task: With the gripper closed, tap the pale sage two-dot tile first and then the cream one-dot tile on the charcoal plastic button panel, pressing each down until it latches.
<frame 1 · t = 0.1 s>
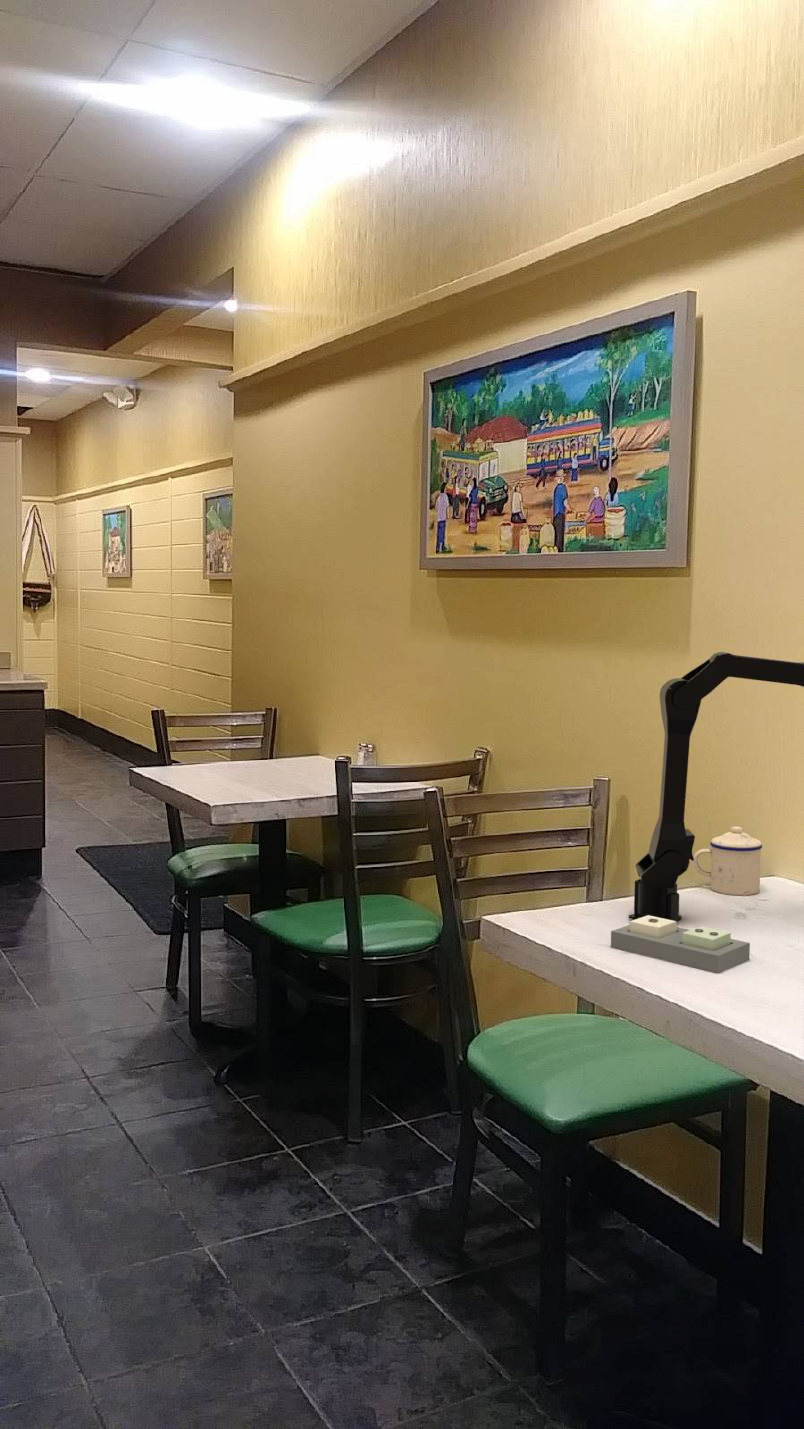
sage tile two: (706, 938, 169), point 3 cm above the table, slide at 0.0 cm
panel: (678, 953, 173), on the table
cream tile one: (653, 927, 175), point 3 cm above the table, slide at 0.0 cm
teacup with lid: (726, 890, 212), on the table
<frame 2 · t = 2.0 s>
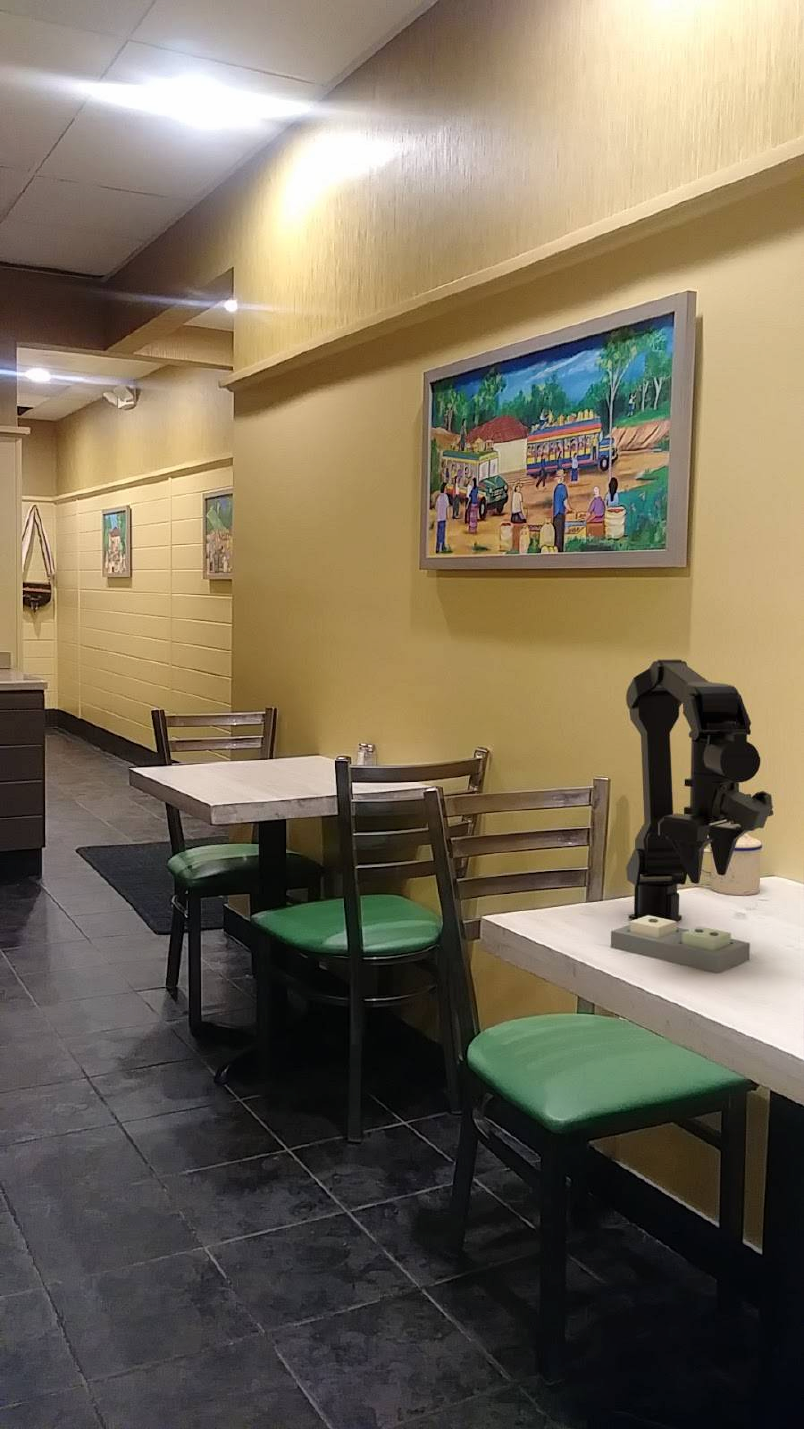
hand: (708, 879, 168), 12 cm above the table, tool pointing down, fingers open, 7 cm apart
nothing on the table moved.
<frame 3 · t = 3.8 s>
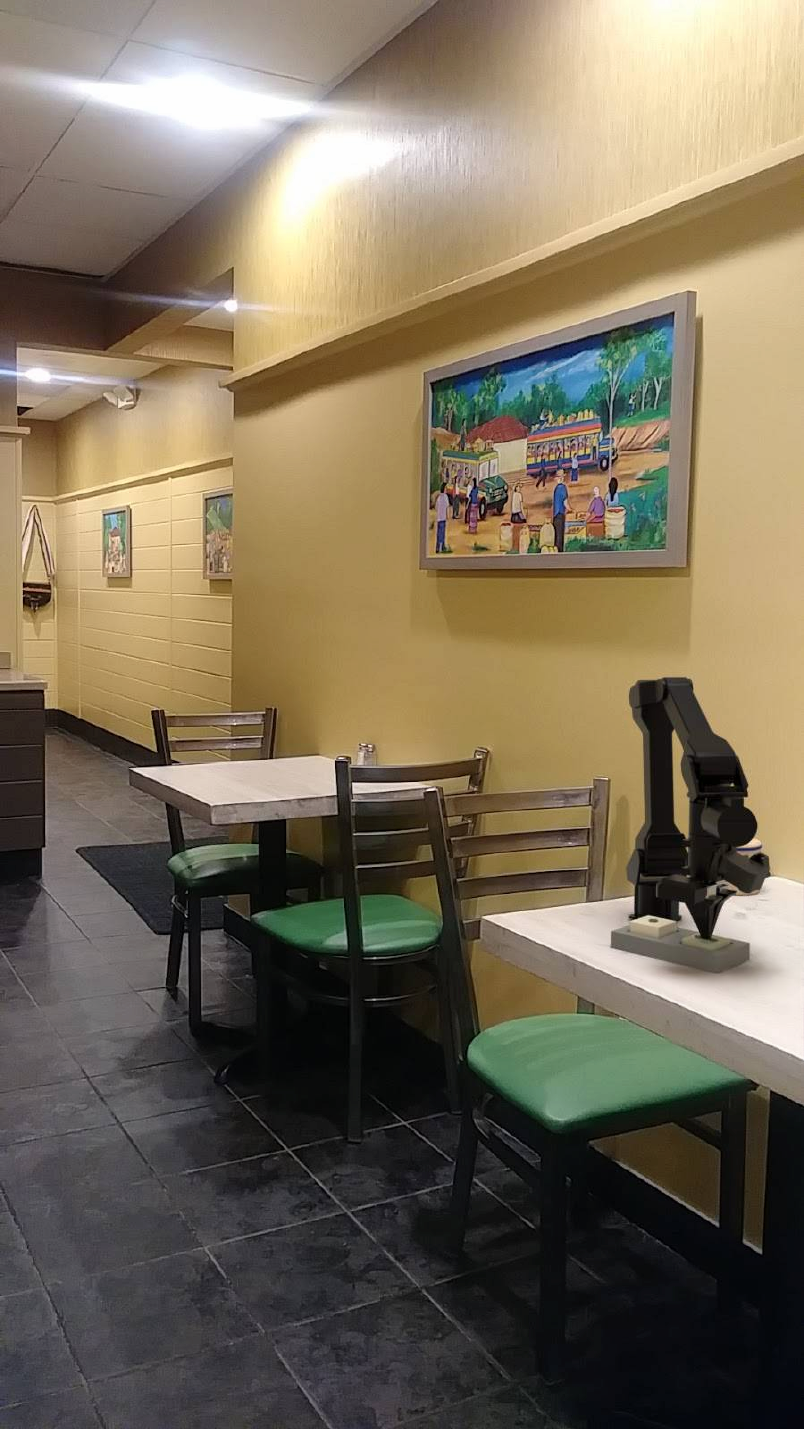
hand: (706, 938, 169), 3 cm above the table, tool pointing down, fingers closed, pressing on sage tile two
sage tile two: (706, 944, 169), point 2 cm above the table, slide at 0.9 cm, touching gripper
everything else where it was.
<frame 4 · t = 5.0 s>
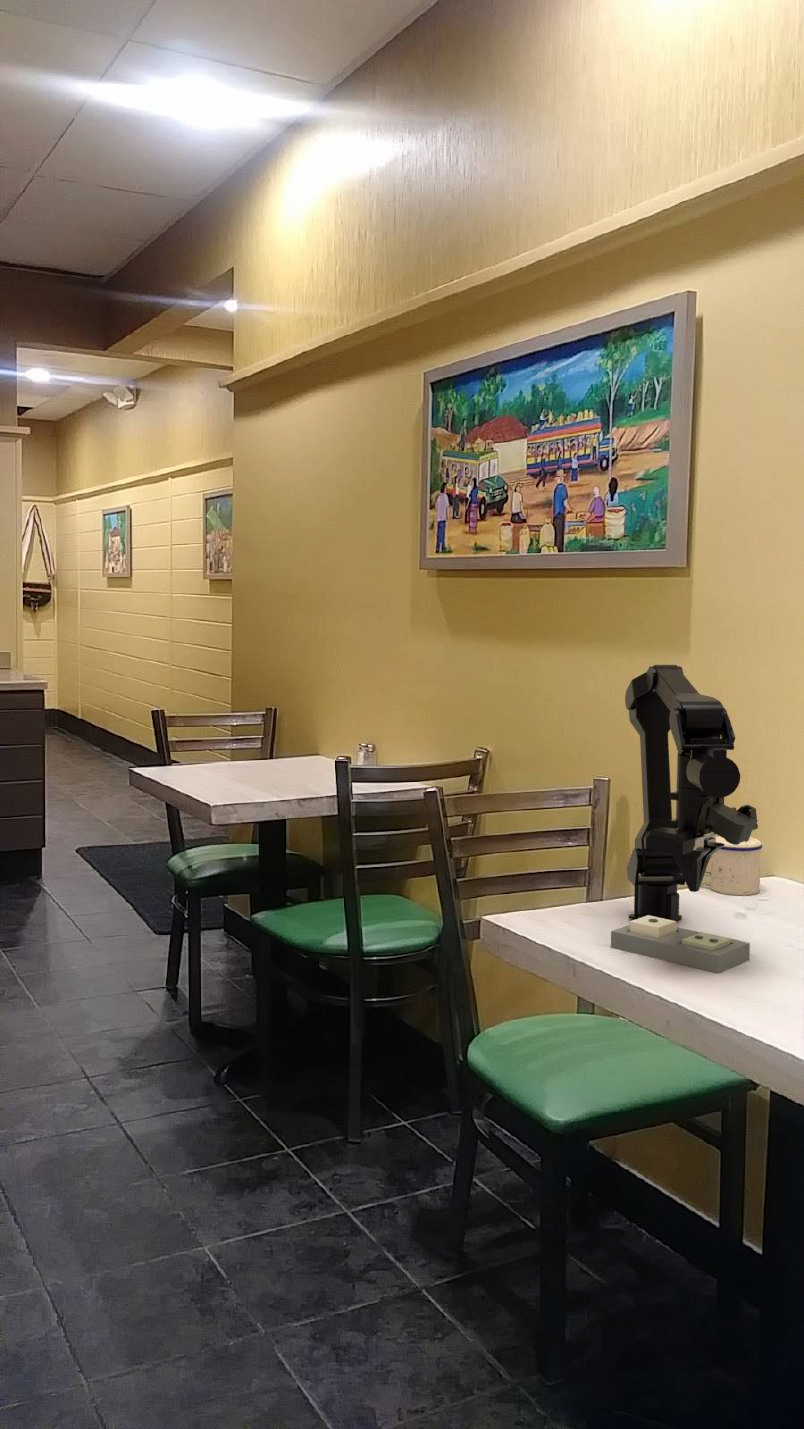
hand: (694, 891, 170), 10 cm above the table, tool pointing down, fingers closed
sage tile two: (706, 945, 169), point 2 cm above the table, slide at 1.0 cm
everything else where it was.
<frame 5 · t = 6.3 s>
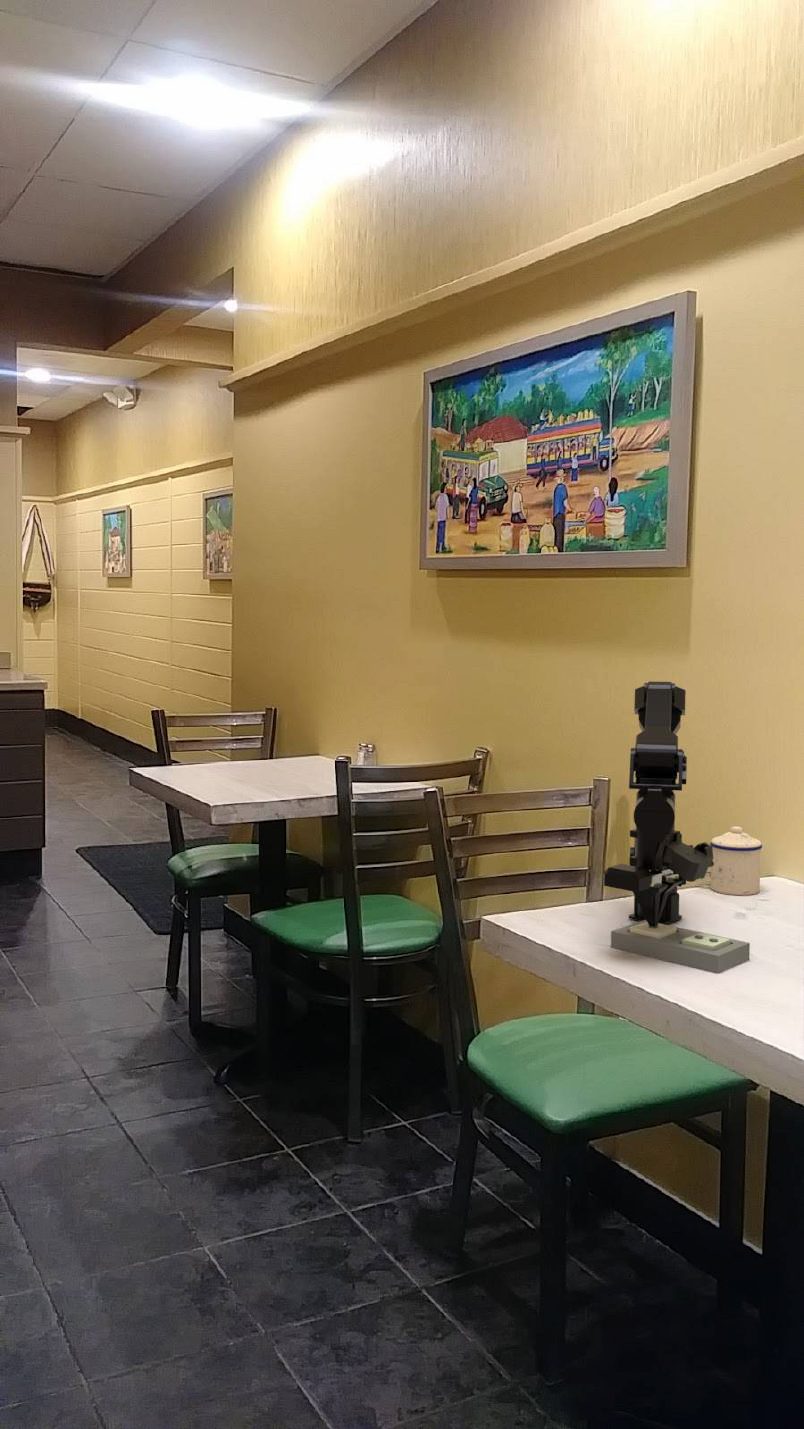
hand: (653, 925, 176), 3 cm above the table, tool pointing down, fingers closed, pressing on cream tile one
cream tile one: (653, 933, 176), point 2 cm above the table, slide at 0.9 cm, touching gripper
everything else where it was.
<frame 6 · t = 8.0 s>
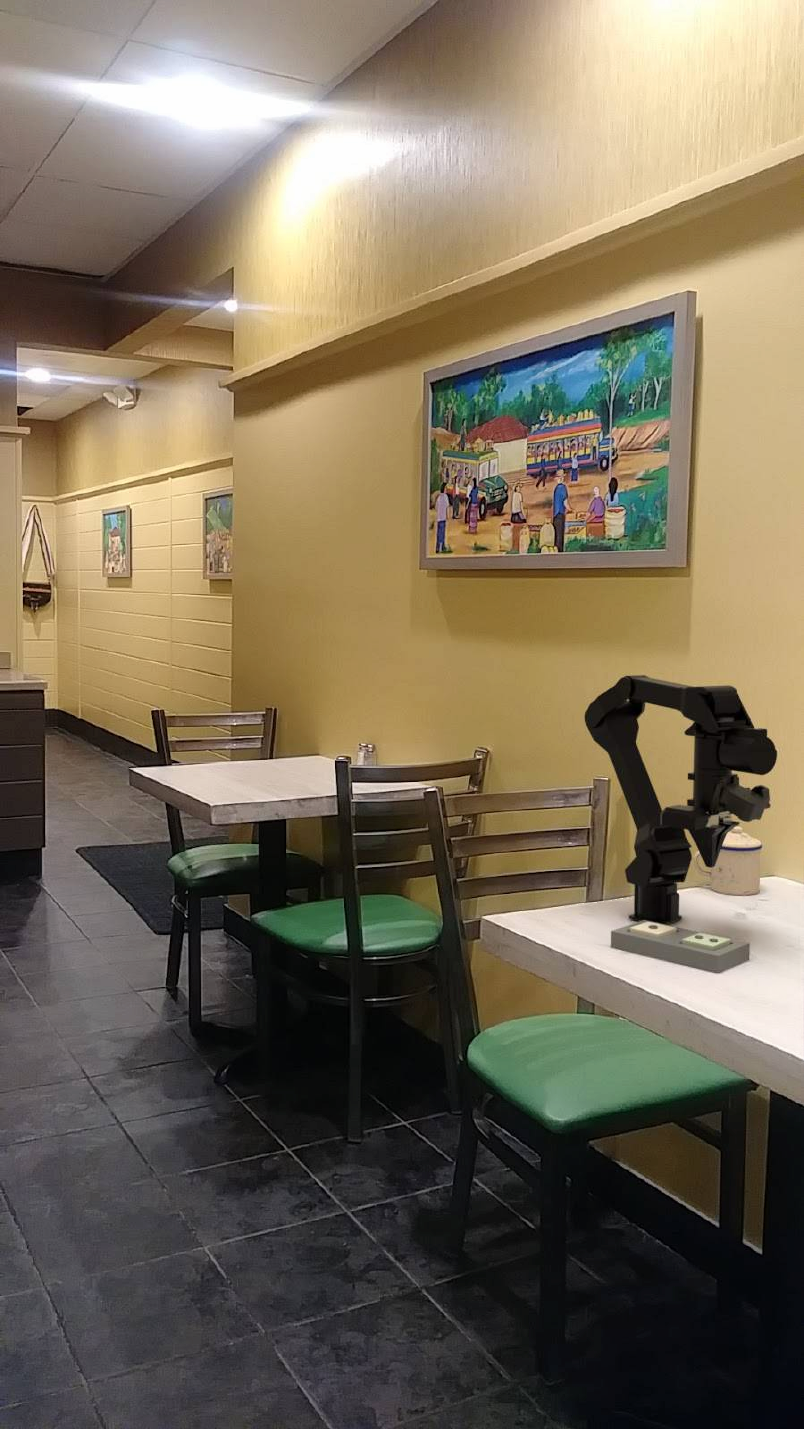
hand: (710, 866, 180), 11 cm above the table, tool pointing down, fingers closed
cream tile one: (653, 933, 176), point 2 cm above the table, slide at 1.0 cm, touching panel
everything else where it was.
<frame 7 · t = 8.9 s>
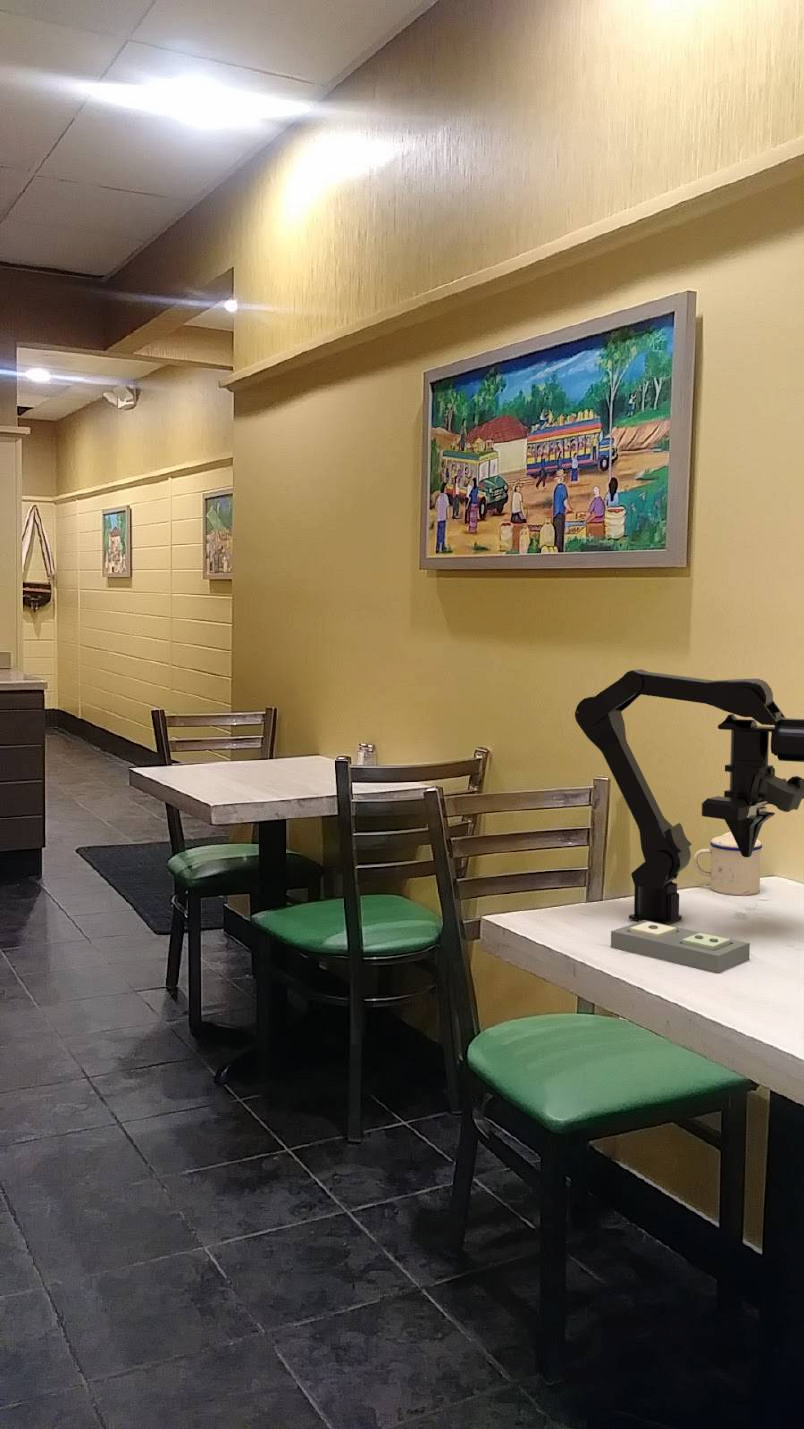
hand: (746, 856, 184), 12 cm above the table, tool pointing down, fingers closed
nothing on the table moved.
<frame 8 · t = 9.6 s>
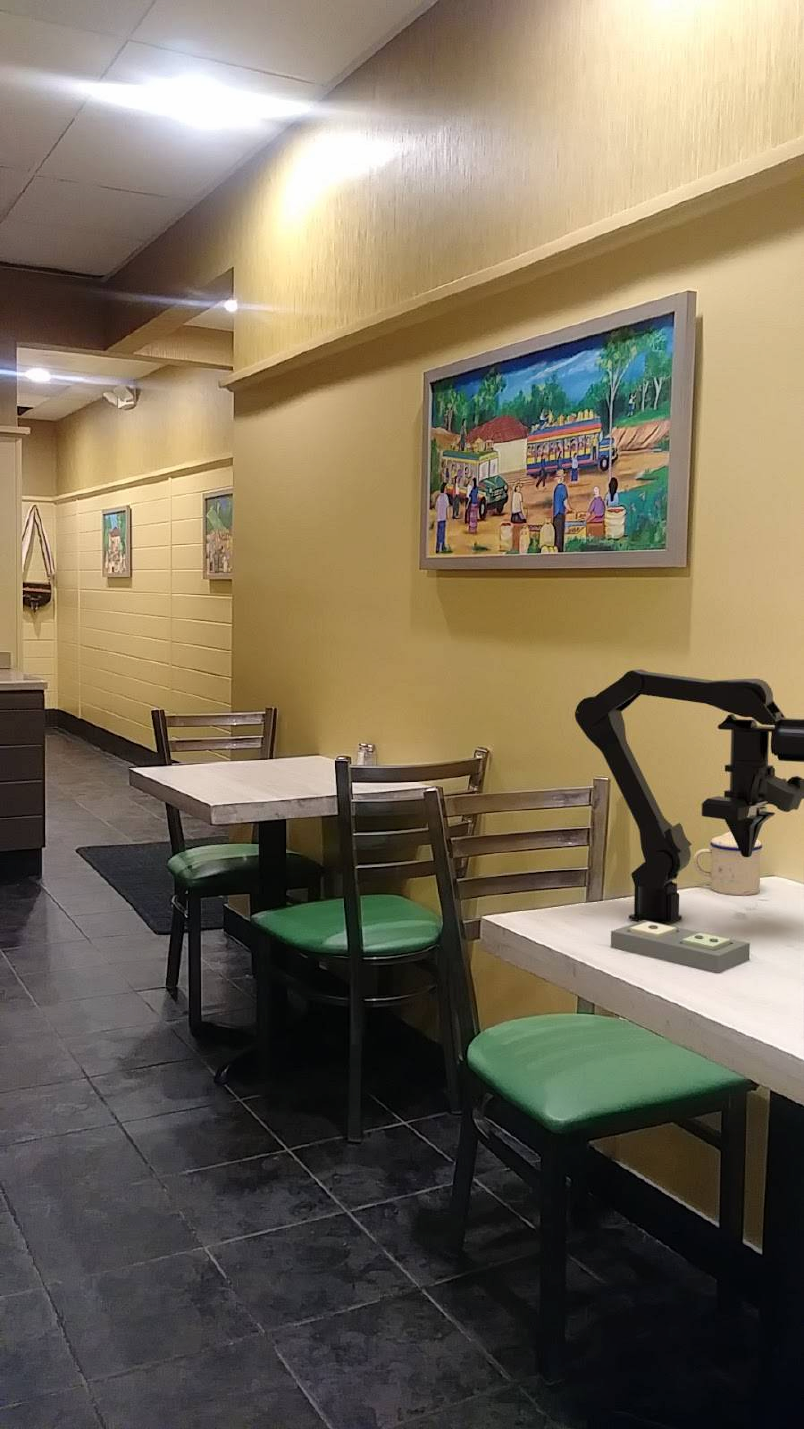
hand: (746, 856, 184), 12 cm above the table, tool pointing down, fingers closed
nothing on the table moved.
at the end: sage tile two slide at 1.0 cm; cream tile one slide at 1.0 cm; teacup with lid moved 0.2 cm from its start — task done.
